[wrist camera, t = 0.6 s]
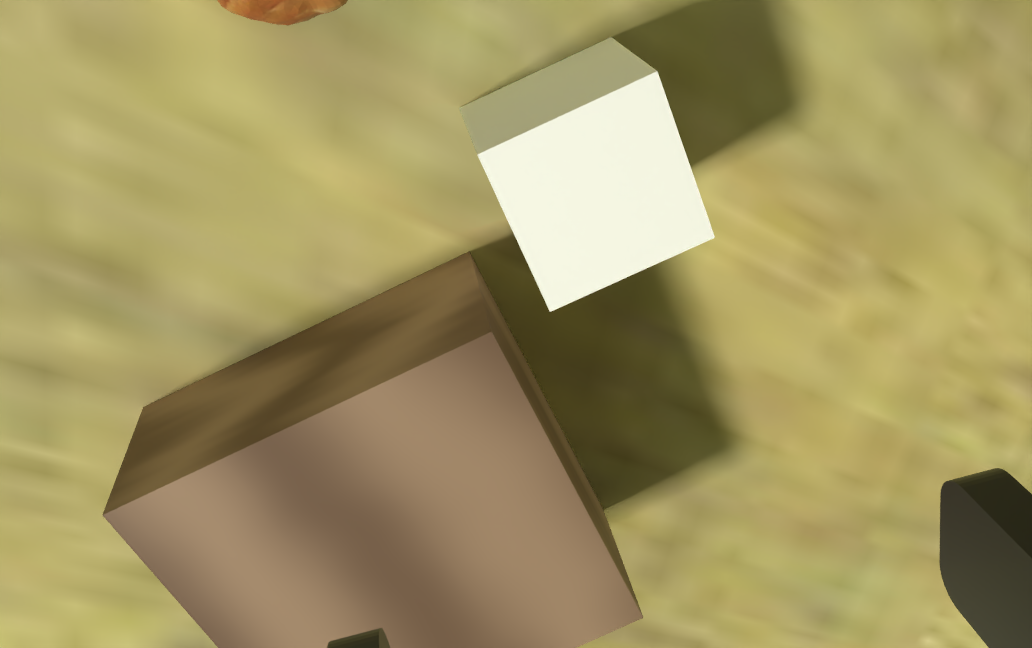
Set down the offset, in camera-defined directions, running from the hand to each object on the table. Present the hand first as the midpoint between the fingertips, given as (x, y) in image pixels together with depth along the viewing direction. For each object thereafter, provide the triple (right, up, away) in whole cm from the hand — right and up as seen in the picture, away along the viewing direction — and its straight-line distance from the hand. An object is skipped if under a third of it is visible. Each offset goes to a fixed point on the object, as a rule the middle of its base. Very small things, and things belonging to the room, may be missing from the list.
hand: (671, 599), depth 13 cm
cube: (-1, +9, +16) cm, 19 cm away
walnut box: (-7, -1, +21) cm, 22 cm away
